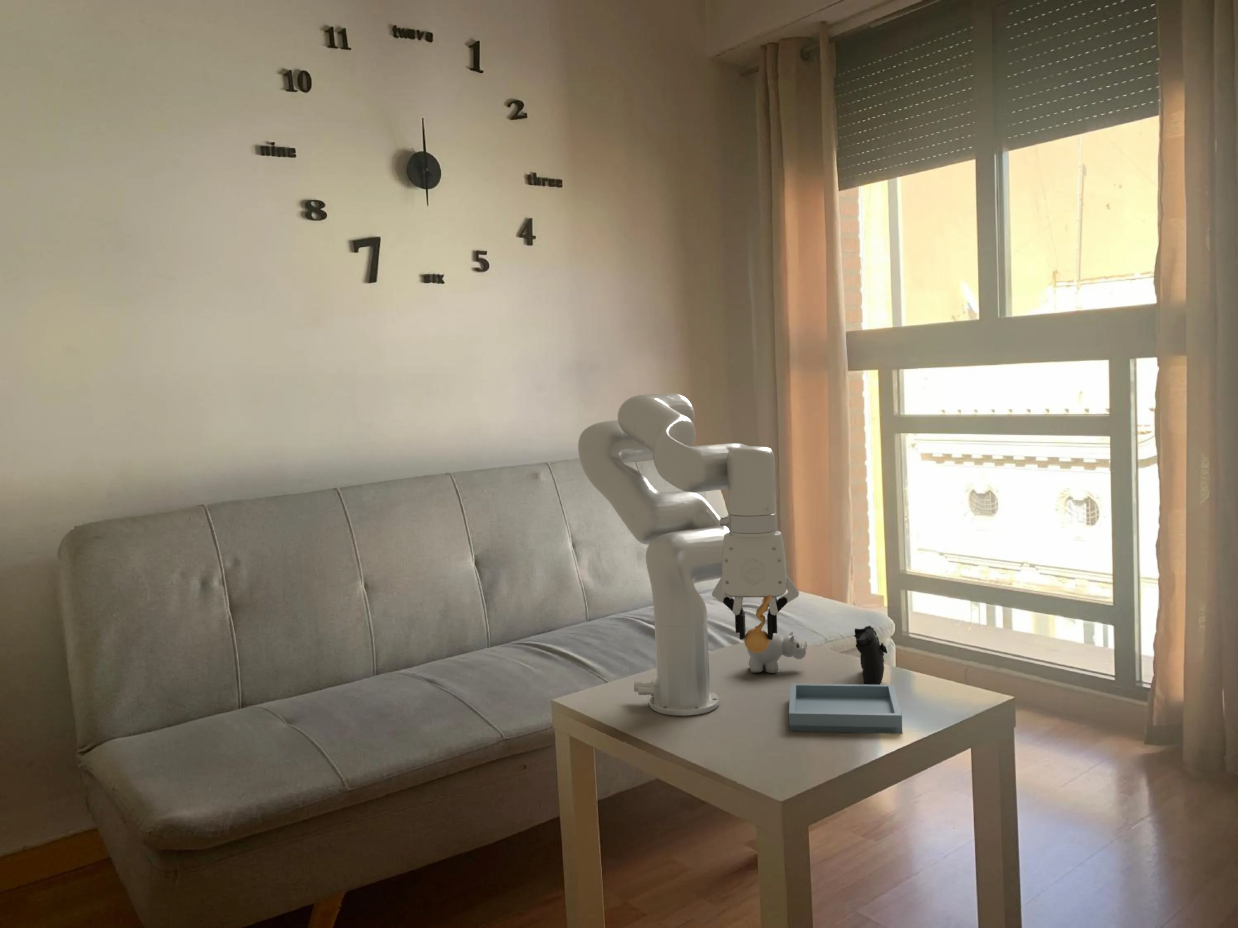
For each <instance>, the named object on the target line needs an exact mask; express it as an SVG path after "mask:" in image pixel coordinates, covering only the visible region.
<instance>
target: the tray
mask: <svg viewBox="0 0 1238 928" xmlns="http://www.w3.org/2000/svg"><path fill="white" fill-rule="evenodd" d="M789 693H790V694H789V702H788V703H789V704H788V705H789V707H788V728H789V729H788V730H789V732H815V733H817V732H818V733H819V732H821V733H823V732H824V733H862V734H865V733H866V734H869V733H870V734H903V715H902V712H901V708H900V704H899V700H898V697H897V692H896V689H895V685H894V684H880V685H869V684H864V683H863V684H859V683H858V684H857V683H854V684H852V683H846V684H845V683H790V689H789Z"/></svg>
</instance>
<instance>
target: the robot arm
mask: <svg viewBox="0 0 1238 928" xmlns="http://www.w3.org/2000/svg"><path fill="white" fill-rule="evenodd" d="M695 419H696V415H695V409H694V407H693V405H692V403H691V402H690V401H689V399H688V398H686V396H684V395H682V394H679V393H672V392H670V393H656V394H655V393H653V394H640V395H639V394H638V395H635V396H631V397H629V398H628V399H626V400H625V401H624V402H623V403H622V404H621V405H620V407H619V409H618V412H617V420H606V421H600V422H597V423H593V424H591V425H589V426H587V427H586V428H585V429H584V430H583V431H581V434H580V435H579V438H578V443H577V444H578V445H577V450H578V456H579V461H580V464H581V467H582V470H583V471H584V474H585V476H586V478H587V480H589V482H590V483H591V484H592V485H593V487H594V488H595V489H596V490H597V491H598V492H599V493H600V494H601V495H602V496H603V497H604V498H605V500H607V501H608V502H609V503H610V505H611V506H612V508H613V509H614V511H615V512H616V514H617V515H618V517H619V518H620V519H621V521H622V522H623V523H624V525H625V527H626V528H627V530H628V531H629V532H630V533H631V534H632V536H633V537H634V539H635V540H636V541H638V542H639V543H640V544H643V545H647V548H646V551H645V565H646V569H647V574H648V577H649V582H650V586H651V594H652V595H651V596H652V604H653V618H654V619H653V620H654V640H655V644H654V645H655V661H656V662H655V663H656V665H655V666H656V679H651V681H644V680H643V681H641V680H640V681H639V680H636V681H634V682H633V691H634V693H638V695H639V696H646V695H649V696H650V698H649V707H650V708H651V710H653V711H655V712H657V713H659V714H663V715H668V716H677V717H678V716H680V717H681V716H683V717H685V716H687V717H688V716H696V715H702V714H706V713H709V712H712V711H714V710H715V709H717V708H718V707H719V705H720V697H719V696H718V695H717V693H715V692H713V691H711V683H710V682H711V681H710V680H711V679H710V659H709V655H710V654H709V633H708V610H707V606H706V603H705V601H704V599H703V597H702V596H701V595H700V593H699V591H698V590H697V589H696V586H695V584H697V583H698V584H699V583H701V582H707V581H713V580H718V582H717V584H716V585H715V587H714V588H713V591H712V593H711V596H712V597H713V598H715V599H717V600H718V601H720V602H721V603H723V604H724V605H725V606H726V607H727V608H728V609H729V610H731V612H732V613H733V615H734V620H735V621H734V625H735V628H734V629H735V633H736V634H739V640H744V639H745V635H746V633H747V632H746V612H745V610H744V607H743V600H744V598H764V597H767V598H768V596H769V595H771V596H772V597H771V599H770V601H769V603H768V604H769V607H768V610H767V616H766V621H767V622H766V624H767V629H768V639H769V640H772V639H773V633H777V634H778V613H779V612H780V611H781V610H782V609H783V608H784V607H785V606H786V605H787V604H788V603H790V602H791V601H793V600H795V599H796V598H798V597H799V595H800V591H799V590H798V588H797V587H796V585H795V584H794V583H793V581H792V579H791V577H790V576H789V575H788V573H787V572H788V571H787V558H786V550H785V545H784V538H783V535H782V531H779V530H778V522H777V521H778V520H777V519H778V518H777V492H776V491H777V490H776V487H777V486H776V485H777V484H776V462H775V461H776V460H775V459H776V458H775V454H774V451H773V450H772V448H770V447H768V446H758V445H757V446H756V445H754V446H749V445H746V444H743V443H739V442H738V443H737V442H736V443H734V442H733V443H732V442H731V443H719V444H718V443H717V444H705V445H694V444H695V442H696V435H697V434H696V433H697V432H696V427H695ZM649 461H653V463H654V466H655V469H656V471H657V472H658V473H657V474H658V475H659V476H660V477H661V478H662V479H663V480H664V481H665V482H667V483H669V484H670V485H672V486H673V487H675V488H676V489H678V490H677V491H668V492H666V491H659V490H657V489H656V488H655V487H654V486H653V485H652V484H651V483H650V481H649V479H648V478H647V477H646V476H645V475H644V474H642V473H641V472H640V471H638V470H636V469H635V468H633V467H631V466H629V465H627V464H628V463H638V462H639V463H640V462H649ZM720 490H721V491H723V490H727V500H728V515H727V516H724V517H720V516H719V514H718V513H717V512H716V510H715V509H714V508H713V507H712V506H711V504H710V503H709V502H708V501H707V500H706V499H705V497H703V496H702V495H700V494H699V493H703V492H712V491H713V492H714V491H720Z"/></svg>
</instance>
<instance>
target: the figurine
mask: <svg viewBox="0 0 1238 928" xmlns="http://www.w3.org/2000/svg"><path fill="white" fill-rule="evenodd" d="M771 597H772V596H771V595H769V596H768V598H767V597H763V599H762V600H761V604H760V606H759V607H758V608H757V609H756V612H755V616H756V618H758V620H759V621H760V623H759V624H758V625H756V626H754V627H753V628H751V629H749V630H748V631H747V632H746V635H745V638H744V639H743V640H744V645H745V647H746V649H748V650H749V651H751V652H753V653H761V652H763V651H765V650H766V649H767V648H768V646H769V639H768V634H767V633H766V632H765V631H764V630H763V627H764V626H765V624H766V616H765V615H764V613H766V612H768V610H769V604H768V603H769V601H770V599H771Z"/></svg>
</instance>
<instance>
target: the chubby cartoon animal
mask: <svg viewBox="0 0 1238 928" xmlns="http://www.w3.org/2000/svg"><path fill="white" fill-rule="evenodd" d="M762 629H763V630H764V631H765V632H766V633H767V634H768V629H767V628H765V627H764V628H763V627H762ZM746 649H747V648H746ZM807 649H808V644H807V641H806V640H805V641H804V645H803V644H802V643H801V644H800V643H799V640H798V639H797V638H796V637H795V635H794V632H793V631H791V632H790V633H789V634H788V635H787V636H785V637H781V636H780V634H778V632H777V633H773V639H772V640H769V646H768V648H767V649H766V650H765V651H763V652H761V653H753V652H751V651H749V650H748V649H747V653H748V655H749V660H748V666H749V670H750V672H751V673H762V672H763V671H764V670H765V672H766V673H767V674H776V673H778V672H779V663H778V660H780V658H781V657H782V656H784V657H786V658H791V657H793V658H795V659H796V660H802V659H804V658H805V657H806V655H807Z"/></svg>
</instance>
